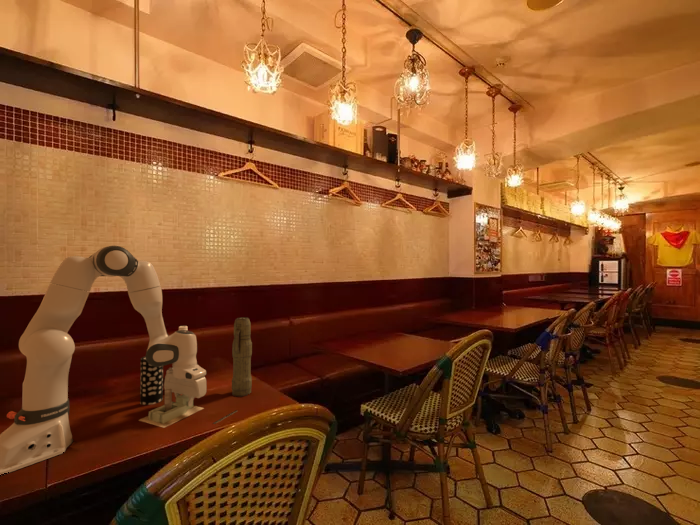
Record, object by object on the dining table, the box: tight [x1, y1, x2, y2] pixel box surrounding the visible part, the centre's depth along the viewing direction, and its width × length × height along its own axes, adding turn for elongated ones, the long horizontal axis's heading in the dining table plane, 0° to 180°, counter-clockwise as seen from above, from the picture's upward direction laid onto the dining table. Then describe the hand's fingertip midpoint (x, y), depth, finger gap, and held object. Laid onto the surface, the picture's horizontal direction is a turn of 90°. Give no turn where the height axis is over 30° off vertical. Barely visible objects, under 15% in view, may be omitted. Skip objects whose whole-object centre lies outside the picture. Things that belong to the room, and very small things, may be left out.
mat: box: [212, 409, 238, 425], centre depth 135 cm, size 12×10×1 cm
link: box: [148, 394, 194, 424], centre depth 133 cm, size 15×8×5 cm, turn 156°
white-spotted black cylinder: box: [139, 355, 164, 406], centre depth 144 cm, size 8×8×20 cm
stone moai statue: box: [231, 316, 253, 398], centre depth 158 cm, size 9×12×35 cm
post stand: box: [138, 389, 205, 429], centre depth 132 cm, size 18×14×12 cm
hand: (184, 404), depth 137 cm, fingers closed on link, 4 cm apart
